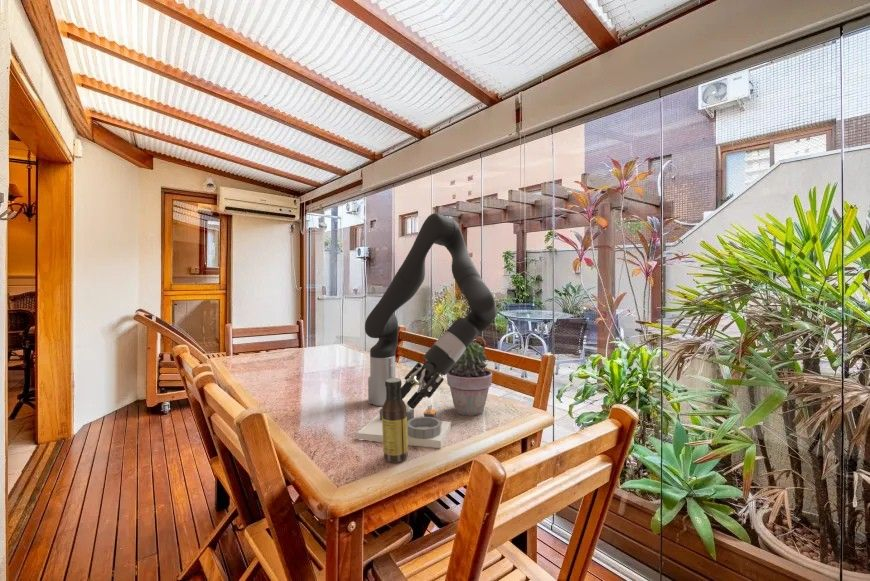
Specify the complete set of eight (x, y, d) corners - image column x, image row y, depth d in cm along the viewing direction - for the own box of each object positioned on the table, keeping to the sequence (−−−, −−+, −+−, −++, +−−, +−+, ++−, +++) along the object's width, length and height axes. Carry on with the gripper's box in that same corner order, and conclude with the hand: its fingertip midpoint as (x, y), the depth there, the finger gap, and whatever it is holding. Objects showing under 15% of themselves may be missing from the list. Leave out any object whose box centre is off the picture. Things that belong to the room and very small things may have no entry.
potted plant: (433, 417, 123) (432, 341, 123) (452, 400, 142) (452, 333, 141) (487, 425, 117) (487, 344, 116) (500, 405, 135) (500, 336, 134)
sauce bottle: (398, 450, 100) (398, 375, 99) (412, 458, 95) (412, 379, 94) (377, 457, 95) (377, 379, 95) (391, 466, 91) (390, 384, 90)
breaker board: (357, 440, 106) (357, 414, 106) (376, 422, 120) (376, 399, 120) (440, 448, 101) (440, 421, 100) (450, 428, 114) (450, 404, 114)
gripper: (425, 339, 105) (386, 385, 101) (447, 347, 92) (402, 400, 88) (443, 357, 108) (405, 402, 103) (466, 367, 94) (424, 419, 90)
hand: (404, 401), depth 96 cm, fingers open, 8 cm apart
